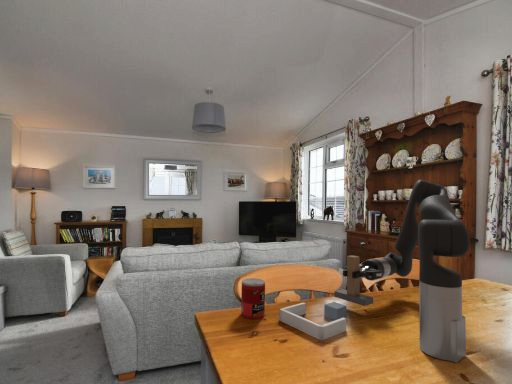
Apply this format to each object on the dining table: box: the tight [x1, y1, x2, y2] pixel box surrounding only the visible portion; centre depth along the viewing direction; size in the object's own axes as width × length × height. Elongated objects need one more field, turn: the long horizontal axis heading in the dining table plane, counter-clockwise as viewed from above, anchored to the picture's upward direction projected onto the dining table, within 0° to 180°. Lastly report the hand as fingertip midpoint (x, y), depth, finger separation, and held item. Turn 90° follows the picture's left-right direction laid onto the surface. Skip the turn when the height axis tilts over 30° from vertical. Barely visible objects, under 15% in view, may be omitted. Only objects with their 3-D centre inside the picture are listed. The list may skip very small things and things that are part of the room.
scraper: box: [334, 254, 374, 307], centre depth 102 cm, size 12×5×15 cm, turn 38°
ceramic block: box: [323, 301, 347, 321], centre depth 96 cm, size 5×5×4 cm
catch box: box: [278, 302, 347, 342], centre depth 89 cm, size 17×11×4 cm, turn 37°
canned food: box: [240, 277, 266, 320], centre depth 97 cm, size 8×8×11 cm
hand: (348, 274), depth 101 cm, fingers closed on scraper, 3 cm apart
